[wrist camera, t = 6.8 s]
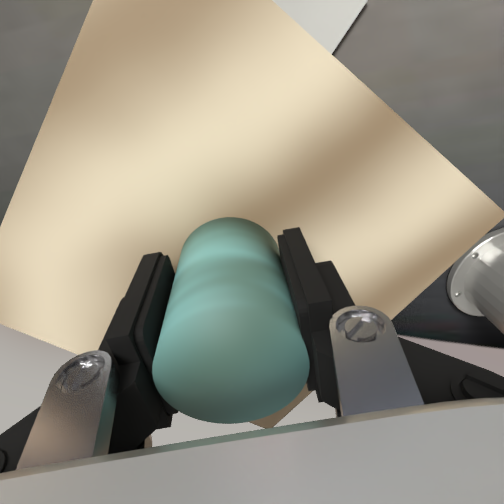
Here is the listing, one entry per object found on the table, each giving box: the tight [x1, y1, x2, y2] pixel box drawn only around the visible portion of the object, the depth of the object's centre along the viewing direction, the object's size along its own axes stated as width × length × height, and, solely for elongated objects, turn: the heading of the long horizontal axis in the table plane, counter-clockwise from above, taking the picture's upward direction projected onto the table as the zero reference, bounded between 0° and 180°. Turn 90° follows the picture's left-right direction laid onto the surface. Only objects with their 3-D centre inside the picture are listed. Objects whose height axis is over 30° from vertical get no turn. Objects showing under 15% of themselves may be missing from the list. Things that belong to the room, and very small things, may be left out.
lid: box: [0, 0, 504, 429], centre depth 10 cm, size 14×14×6 cm
